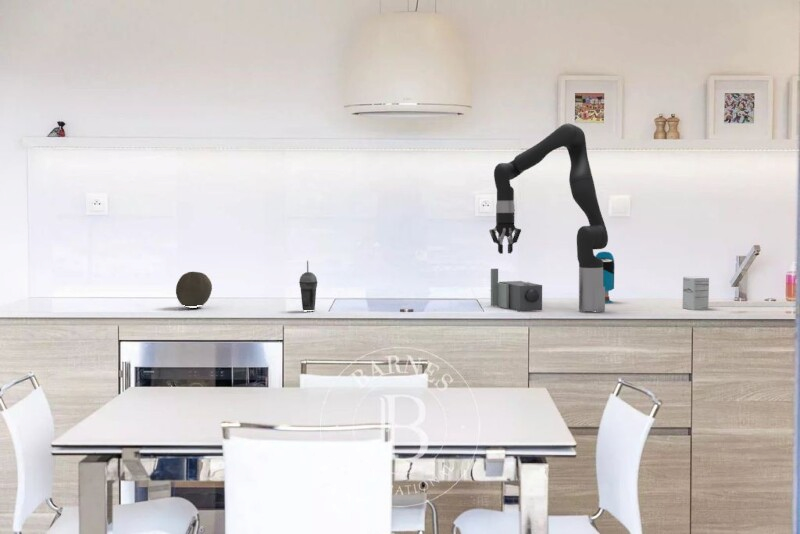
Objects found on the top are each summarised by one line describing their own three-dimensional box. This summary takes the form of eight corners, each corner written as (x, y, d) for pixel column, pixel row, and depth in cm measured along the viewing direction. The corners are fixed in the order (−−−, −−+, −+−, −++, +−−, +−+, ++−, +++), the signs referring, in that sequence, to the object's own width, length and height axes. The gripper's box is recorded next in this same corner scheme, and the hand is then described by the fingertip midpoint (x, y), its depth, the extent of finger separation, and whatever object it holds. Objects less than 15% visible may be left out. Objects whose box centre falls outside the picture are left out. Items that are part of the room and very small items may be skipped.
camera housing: (498, 306, 421) (498, 279, 420) (520, 305, 424) (520, 278, 423) (521, 312, 400) (521, 283, 399) (544, 311, 403) (544, 283, 402)
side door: (490, 306, 419) (490, 268, 418) (498, 305, 420) (498, 268, 419) (500, 308, 410) (500, 270, 408) (508, 308, 411) (508, 270, 409)
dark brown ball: (206, 310, 411) (205, 273, 410) (171, 310, 413) (170, 273, 412) (216, 306, 425) (215, 270, 424) (183, 306, 427) (182, 270, 426)
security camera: (594, 252, 426) (592, 251, 436) (594, 303, 428) (592, 301, 438) (615, 252, 425) (613, 251, 435) (615, 303, 427) (612, 301, 437)
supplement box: (681, 308, 410) (682, 276, 409) (697, 307, 412) (697, 276, 411) (693, 310, 403) (693, 278, 402) (709, 309, 405) (709, 277, 404)
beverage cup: (301, 313, 401) (300, 261, 400) (297, 310, 408) (297, 260, 407) (319, 312, 403) (318, 261, 402) (316, 310, 410) (315, 260, 409)
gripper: (517, 211, 431) (517, 252, 433) (485, 211, 427) (485, 253, 428) (524, 211, 424) (524, 253, 426) (493, 212, 420) (493, 254, 421)
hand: (505, 253), depth 427 cm, fingers open, 3 cm apart
